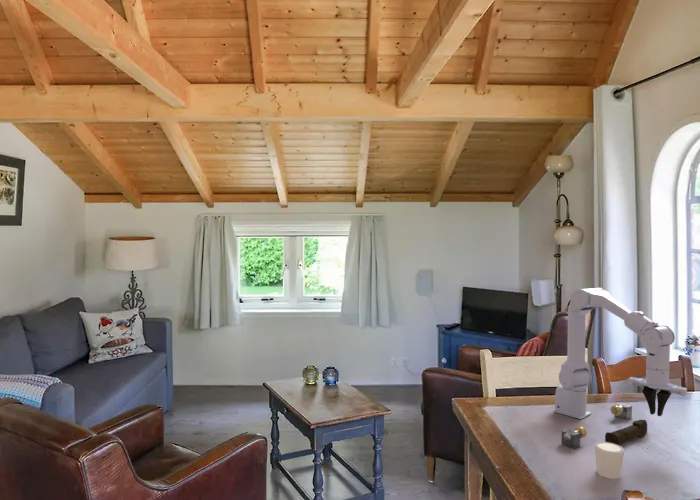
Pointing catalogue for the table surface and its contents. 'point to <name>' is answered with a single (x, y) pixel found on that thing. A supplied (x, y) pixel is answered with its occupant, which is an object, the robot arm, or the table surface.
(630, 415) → the grey block with knob
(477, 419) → the table surface
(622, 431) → the hand tool
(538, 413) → the table surface
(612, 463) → the cream cylinder
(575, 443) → the grey metal fitting
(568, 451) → the table surface
